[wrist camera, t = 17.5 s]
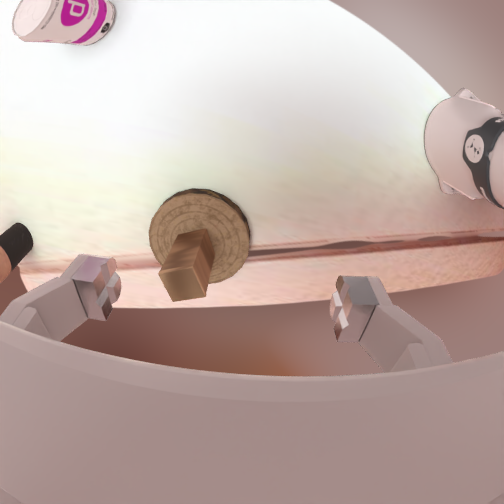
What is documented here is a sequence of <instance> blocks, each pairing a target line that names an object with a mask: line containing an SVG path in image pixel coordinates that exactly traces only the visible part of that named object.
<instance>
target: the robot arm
mask: <svg viewBox="0 0 504 504" xmlns="http://www.w3.org/2000/svg"><path fill="white" fill-rule="evenodd" d="M501 113H502V112H501V111H500V110H499V109H497V108H495V107H494V106H493V105H491V104H488V103H484V102H482V101H481V100H480V99H479V98H478V97H477V96H475V95H474V94H473V93H472V92H471V91H469V90H468V89H465V88H461V89H460V90H459V91H458V92H457V93H456V94H455V96H454V97H452V98H449V99H446V100H444V101H442V102H441V103H439V104H438V105H437V106H436V107H435V108H434V109H433V111H432V112H431V114H430V116H429V118H428V121H427V124H426V129H425V150H426V155H427V158H428V161H429V163H430V165H431V167H432V168H433V170H434V171H435V173H436V174H437V176H438V178H439V183H440V187H441V190H442V191H443V192H444V193H446V194H464V195H465V196H467V197H468V198H470V199H472V200H474V199H475V198H476V199H482V198H486V199H487V200H488V201H489V202H491V203H492V204H494V205H496V206H498V207H500V208H503V209H504V115H503V114H501ZM116 269H117V264H116V260H115V259H114V258H113V257H105V256H97V255H88V254H80V255H78V256H77V257H76V258H75V260H74V261H73V262H72V263H71V264H70V266H69V267H68V268H67V269H66V270H65V272H64V273H63V274H62V275H61V276H60V277H56V278H54V279H52V280H50V281H48V282H46V283H44V284H42V285H40V286H39V287H37V288H35V289H33V290H31V291H29V292H27V293H25V294H24V295H22V296H20V297H18V298H17V299H15V300H13V301H12V302H11V303H10V304H9V306H8V307H7V308H6V309H5V311H4V312H3V314H2V315H1V316H0V504H504V351H502V352H499V353H495V354H491V355H487V356H483V357H479V358H475V359H471V360H465V361H461V362H455V363H453V361H452V359H451V357H450V355H449V353H448V351H447V349H446V347H445V345H444V343H443V341H442V339H440V338H439V337H438V336H436V335H435V334H434V333H433V332H431V331H430V330H429V329H427V328H426V327H425V326H423V325H422V324H421V323H420V322H418V321H417V320H415V319H414V318H413V317H412V316H410V315H409V314H407V313H406V312H405V311H403V310H402V309H401V308H399V307H398V306H397V305H393V304H392V302H391V300H390V298H389V296H388V294H387V292H386V290H385V288H384V286H383V284H382V282H381V280H380V279H379V278H378V277H372V276H365V277H359V276H339V277H338V279H337V282H336V288H337V291H336V292H335V293H333V294H332V298H331V302H330V315H331V319H332V320H333V321H334V322H335V326H334V332H335V336H336V340H337V342H359V345H360V346H361V347H362V348H363V349H364V350H365V351H366V352H367V353H368V355H369V356H370V357H371V358H372V359H373V360H374V361H375V362H376V364H377V365H378V366H379V367H380V368H381V369H382V370H383V371H384V373H376V374H363V375H346V376H312V377H311V376H309V377H299V376H297V377H296V376H291V377H290V376H261V375H244V374H230V373H219V372H210V371H201V370H193V369H185V368H177V367H171V366H164V365H158V364H153V363H147V362H141V361H136V360H131V359H126V358H121V357H117V356H112V355H107V354H103V353H99V352H95V351H91V350H87V349H84V348H80V347H76V346H73V345H69V344H65V343H62V342H60V341H61V340H62V339H63V338H65V337H66V336H67V335H68V334H70V333H71V332H72V331H73V330H75V329H76V328H77V327H78V326H80V325H81V324H82V323H83V322H85V321H86V320H87V319H88V318H91V319H97V320H103V321H106V320H107V319H108V317H109V315H110V313H111V311H112V309H113V308H112V305H111V304H113V303H114V302H116V301H117V300H118V298H119V296H120V292H121V280H120V277H119V276H118V274H117V273H116V272H115V271H116Z"/></svg>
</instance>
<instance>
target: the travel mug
mask: <svg viewBox="0 0 504 504" xmlns="http://www.w3.org/2000/svg"><path fill="white" fill-rule="evenodd" d="M32 246H33V240H32V236H31V234H30V232H29V231H28V229H27V228H26V227H25V226H24V225H23V224H21V223H16V224H14V225H13V226H12V227H10V228H9V229H8V230H6V231H5V232H4V233H3V234H1V235H0V284H1V282H2V281H3V280H4V279H5V278H6V277H7V276H8V275H9V274H10V273H11V271H12V270H13V269H14V268H15V267H16V266H17V265H18V263H19V262H20V261H21V260H22V259H23V258H24V257H25V256H26V255H27V253H28V252H29V251H30V250H31V249H32Z"/></svg>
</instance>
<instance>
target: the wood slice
mask: <svg viewBox="0 0 504 504" xmlns="http://www.w3.org/2000/svg"><path fill="white" fill-rule="evenodd" d="M205 228H206V229H207V232H208V235H209V238H210V240H211V243H212V246H213V249H214V252H215V258H214V262H213V266H212V270H211V274H210V278H209V283H208V284H211V283H218V282H221V281H223V280H225V279H228V278H230V277H232V276H233V275H234V274H235V273H236V272H237V271H238V270H239V269H240V268H242V266H243V264H244V262H245V260H246V258H247V256H248V251H249V240H250V231H249V227H248V223H247V220H246V218H245V216H244V215H243V213H242V212H241V210H240V209H239V207H238V206H237V205H236V204H235V203H233V202H232V201H231V200H230V199H228V198H227V197H226V196H224V195H222V194H219V193H217V192H214V191H211V190H207V189H189V190H185V191H181V192H178V193H176V194H174V195H173V196H171V197H170V198H168V199H167V200H166V201H165V202H164V203H163V204H162V205H161V207H160V208H159V209H158V211H157V212H156V214H155V215H154V217H153V218H152V221H151V225H150V229H149V240H150V247H151V249H152V251H153V253H154V256H155V258H156V259H157V261H158V262H159V263H160V264H161V265H162V266H163V264H164V262H165V260H166V258H167V256H168V254H169V252H170V250H171V248H172V245H173V243H174V241H175V239H176V238H177V236H178V234H182V233H187V232H191V231H196V230H200V229H205Z"/></svg>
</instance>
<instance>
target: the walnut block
mask: <svg viewBox="0 0 504 504" xmlns="http://www.w3.org/2000/svg"><path fill="white" fill-rule="evenodd" d="M214 258H215V252H214V249H213V246H212V243H211V240H210V238H209V235H208V232H207V229H206V228H205V229H200V230H196V231H191V232H187V233H182V234H178V236H177V238H176V239H175V241H174V243H173V245H172V248H171V250H170V252H169V254H168V256H167V258H166V260H165V262H164V264H163V266H162V268H161V270H160V271H159V273H158V274H159V276H160V278H161V280H162V282H163V284H164V286H165V288H166V290H167V292H168V294H169V296H170V298H171V299H172V301H173V302H175V301H182V300H189V299H196V298H202V297H206V291H207V287H208V283H209V278H210V274H211V270H212V266H213V262H214Z"/></svg>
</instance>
